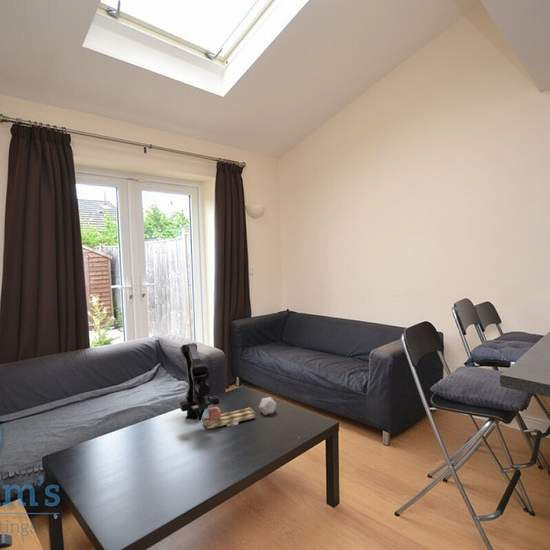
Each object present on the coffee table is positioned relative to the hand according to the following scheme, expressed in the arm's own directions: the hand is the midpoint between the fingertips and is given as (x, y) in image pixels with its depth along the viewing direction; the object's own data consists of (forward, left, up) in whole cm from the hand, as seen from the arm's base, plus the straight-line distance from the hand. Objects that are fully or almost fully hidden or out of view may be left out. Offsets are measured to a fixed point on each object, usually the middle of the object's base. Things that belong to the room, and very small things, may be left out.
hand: (199, 419), depth 179 cm
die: (+29, +24, -5) cm, 38 cm away
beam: (+12, +10, -4) cm, 16 cm away
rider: (+6, +5, -2) cm, 8 cm away
